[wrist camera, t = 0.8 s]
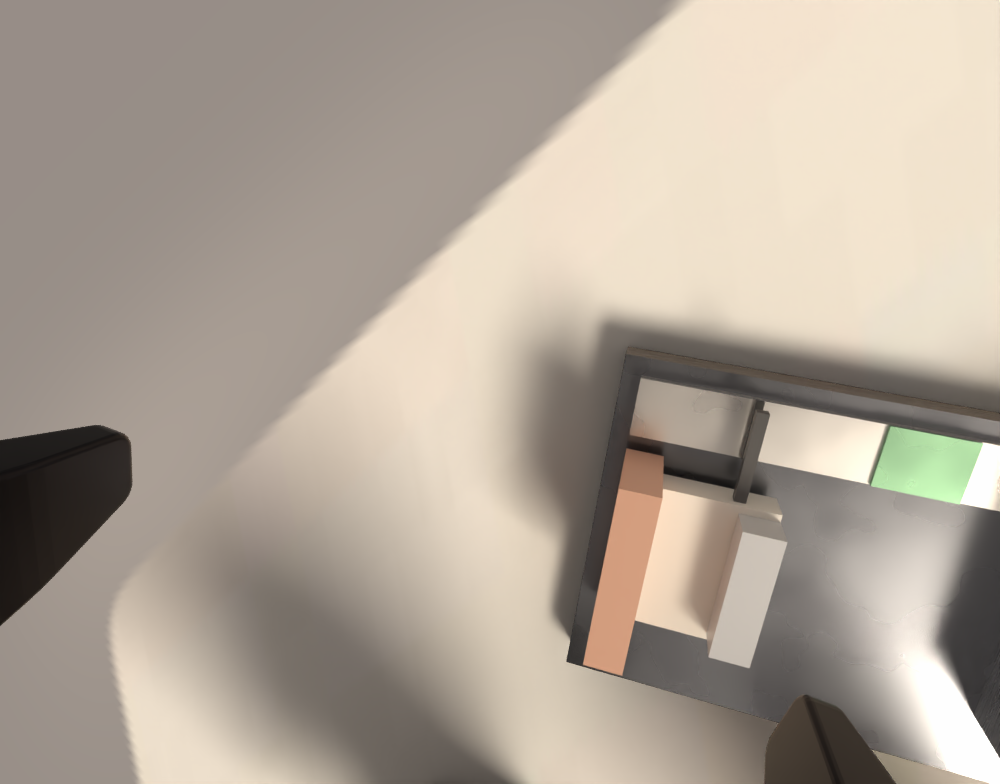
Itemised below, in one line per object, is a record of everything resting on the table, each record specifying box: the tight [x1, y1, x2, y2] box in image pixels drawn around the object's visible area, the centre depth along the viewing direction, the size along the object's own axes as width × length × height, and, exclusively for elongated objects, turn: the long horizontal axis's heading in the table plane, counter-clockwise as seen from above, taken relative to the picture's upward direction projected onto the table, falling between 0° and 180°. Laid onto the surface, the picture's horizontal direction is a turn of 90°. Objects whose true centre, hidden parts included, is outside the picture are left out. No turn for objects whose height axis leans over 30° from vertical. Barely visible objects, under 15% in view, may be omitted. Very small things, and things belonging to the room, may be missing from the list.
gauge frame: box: [566, 347, 1000, 784], centre depth 16 cm, size 10×13×4 cm
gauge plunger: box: [583, 409, 787, 676], centre depth 16 cm, size 7×4×3 cm, turn 173°
